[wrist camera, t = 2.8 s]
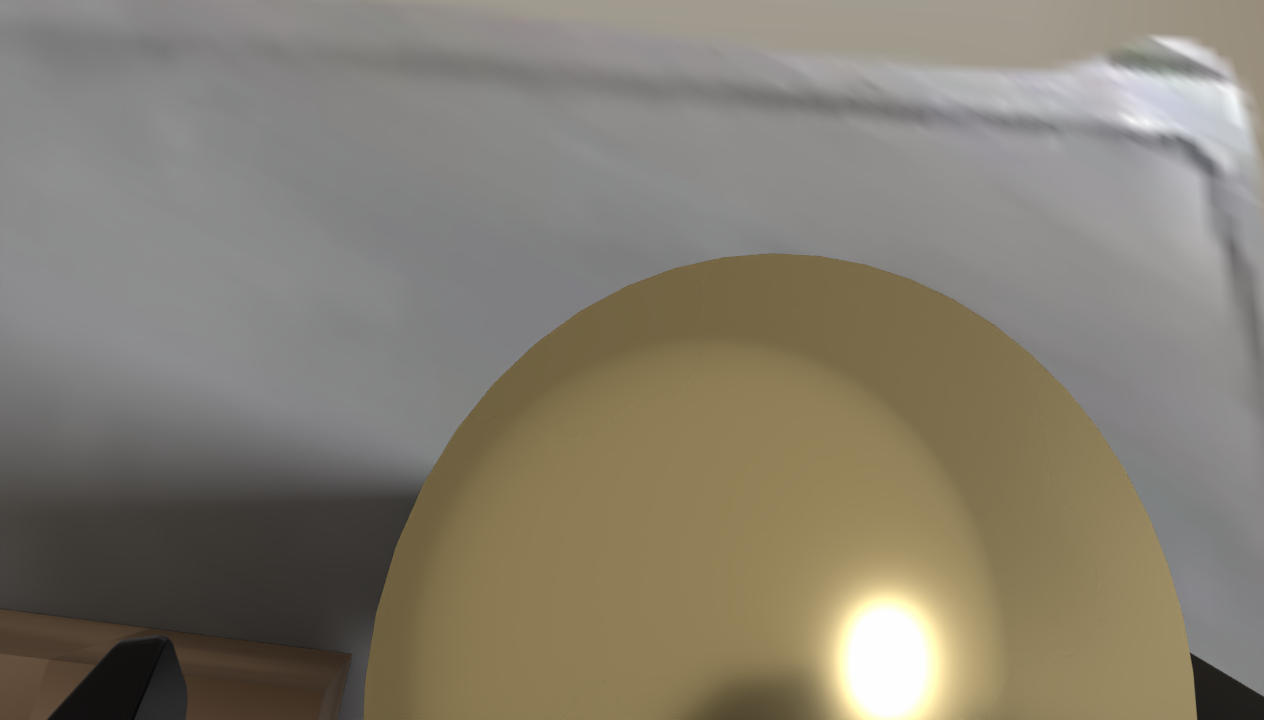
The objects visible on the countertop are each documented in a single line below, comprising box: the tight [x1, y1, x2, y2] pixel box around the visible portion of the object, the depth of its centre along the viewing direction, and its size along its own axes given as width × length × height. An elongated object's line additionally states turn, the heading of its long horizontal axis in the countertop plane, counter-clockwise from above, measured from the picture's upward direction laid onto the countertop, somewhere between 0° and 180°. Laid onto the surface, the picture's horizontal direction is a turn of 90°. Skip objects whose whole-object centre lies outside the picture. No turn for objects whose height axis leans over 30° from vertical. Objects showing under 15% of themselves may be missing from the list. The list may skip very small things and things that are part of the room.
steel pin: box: [364, 254, 1197, 720], centre depth 10 cm, size 4×4×13 cm
